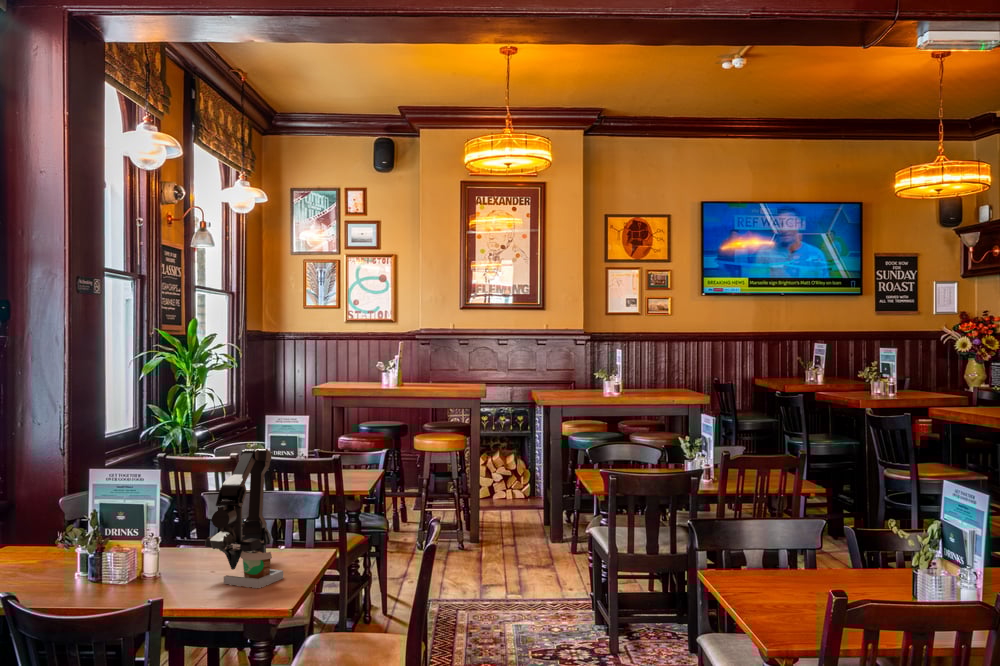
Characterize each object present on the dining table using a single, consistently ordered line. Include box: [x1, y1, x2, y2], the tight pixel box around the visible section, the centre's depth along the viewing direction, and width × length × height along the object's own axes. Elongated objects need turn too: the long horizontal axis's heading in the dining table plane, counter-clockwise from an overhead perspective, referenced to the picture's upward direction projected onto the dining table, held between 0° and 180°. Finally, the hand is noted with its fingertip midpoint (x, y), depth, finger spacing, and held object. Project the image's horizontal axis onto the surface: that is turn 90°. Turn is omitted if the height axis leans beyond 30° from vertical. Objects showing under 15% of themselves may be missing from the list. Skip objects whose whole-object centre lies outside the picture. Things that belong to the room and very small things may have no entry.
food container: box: [240, 550, 273, 579], centre depth 257 cm, size 12×6×10 cm, turn 52°
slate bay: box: [223, 568, 284, 589], centre depth 257 cm, size 12×14×2 cm
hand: (233, 569), depth 261 cm, fingers closed
